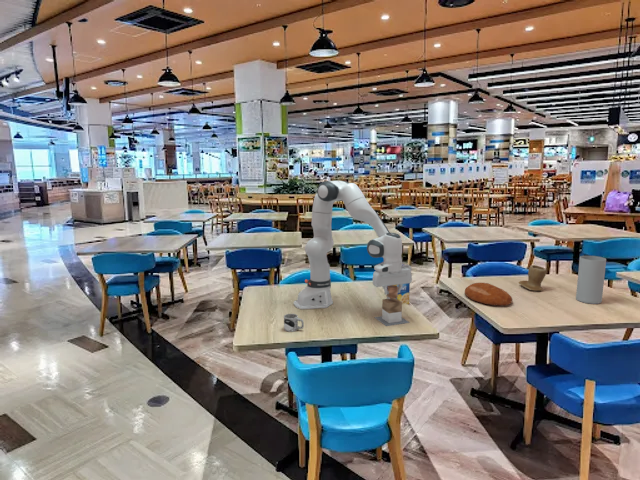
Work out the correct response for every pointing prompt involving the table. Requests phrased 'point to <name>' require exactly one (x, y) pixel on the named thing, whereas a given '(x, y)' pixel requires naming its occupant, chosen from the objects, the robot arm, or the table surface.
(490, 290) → the bread
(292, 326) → the mug
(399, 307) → the tan wooden block
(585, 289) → the cylinder vase
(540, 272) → the brown boot
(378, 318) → the blue-grey board
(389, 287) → the brown rounded knob
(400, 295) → the beverage box
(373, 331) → the table surface
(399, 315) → the grey tower block
